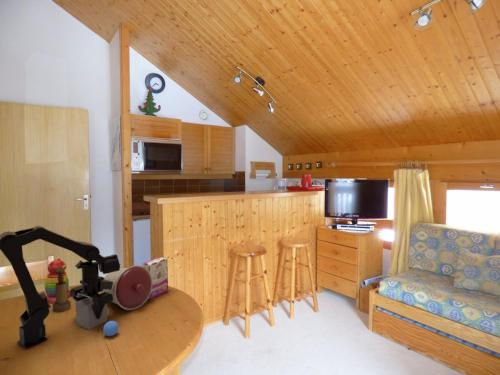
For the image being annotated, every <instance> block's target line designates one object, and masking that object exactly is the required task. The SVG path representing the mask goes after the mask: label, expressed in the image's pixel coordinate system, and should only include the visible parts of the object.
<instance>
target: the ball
mask: <svg viewBox="0 0 500 375" xmlns="http://www.w3.org/2000/svg"><path fill="white" fill-rule="evenodd" d="M102 330H103V334H104V335H105V336H107V337H113V336H114V335H116V334H117V333H118V331H119V324H118V322H116V321H115V320H109V321H106V323H105V324H104V326H103V328H102Z"/></svg>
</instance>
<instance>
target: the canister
mask: <svg viewBox="0 0 500 375" xmlns="http://www.w3.org/2000/svg"><path fill="white" fill-rule="evenodd" d="M104 279H105V280H109V281H113V285H112V289H111V290H109V289H103V291H102V292H101V293H103V292H107V293H111V294H112V295H113V301H111V302H110V303H114V304H116V305H118V306H119V307H120V308H122V310H127V311H133V310H137V309H139V308H140V307H142V306H143V305H144V304H145V303H146V302H147V301H148V300H149V299H148V298H149V296H150V294H151V290H152V277H151V275H150V273H149V271H148V270H147V269H146V268H144V267H143V265H142V266H141V265H131V266H130V267H122V268H121V267H120V270H119V271H116V272H112V273H107V274H105V276H104Z"/></svg>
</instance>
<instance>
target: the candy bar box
mask: <svg viewBox="0 0 500 375" xmlns="http://www.w3.org/2000/svg"><path fill="white" fill-rule="evenodd" d="M142 267H144V268H146V269H147V270H148V271H149V273H150V275H151V277H152V290H151V294H150V296H149V298H148V299H147V300H153V299H155V298H157V297H159V296H162V295H163V294H165V293H168V292H169V279H168V277H169V276H168V275H169V272H168V271H169V270H168V268H169V266H168V258H167V257H162V256H161V257H160V256H159V257H157V258H155V259H151V260H148V261H146V262H144V263H142Z"/></svg>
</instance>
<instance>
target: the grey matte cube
mask: <svg viewBox="0 0 500 375" xmlns="http://www.w3.org/2000/svg"><path fill="white" fill-rule="evenodd" d="M92 299H93V298H91V297H88V298H85V299H83V300H80V301H78V302H76V301H75V318H76V320H75V321H76V322H75V323H76V324H75V325H77V326H79V327H82V328H84V329H86V330H91V329H94V328H95V327H98V326H100V325H101V324H104V323H105V322H106V323H107V322H108V303H106V304H105V306H104V308H103V311H102V314H101V317H100V319H97V318H96V316H95V313H94V310H93V308H92V304H93V301H92Z"/></svg>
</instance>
